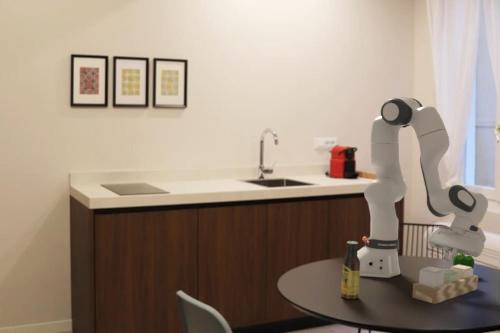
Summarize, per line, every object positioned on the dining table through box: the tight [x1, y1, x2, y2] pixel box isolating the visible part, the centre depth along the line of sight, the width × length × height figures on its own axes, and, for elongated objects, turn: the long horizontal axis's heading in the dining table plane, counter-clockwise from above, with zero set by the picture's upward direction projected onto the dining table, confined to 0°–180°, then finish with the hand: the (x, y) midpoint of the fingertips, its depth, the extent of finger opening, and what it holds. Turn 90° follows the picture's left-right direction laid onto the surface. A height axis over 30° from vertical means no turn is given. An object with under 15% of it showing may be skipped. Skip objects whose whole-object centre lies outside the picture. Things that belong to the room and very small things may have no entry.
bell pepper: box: [452, 253, 475, 270], centre depth 249 cm, size 8×8×10 cm
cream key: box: [449, 265, 474, 279], centre depth 230 cm, size 6×6×7 cm
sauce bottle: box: [340, 240, 361, 300], centre depth 216 cm, size 6×6×20 cm
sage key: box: [442, 268, 459, 283], centre depth 223 cm, size 6×6×7 cm
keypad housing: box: [412, 274, 479, 305], centre depth 224 cm, size 29×9×5 cm, turn 131°
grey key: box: [418, 266, 444, 288], centre depth 217 cm, size 6×6×7 cm
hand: (446, 259), depth 223 cm, fingers closed
